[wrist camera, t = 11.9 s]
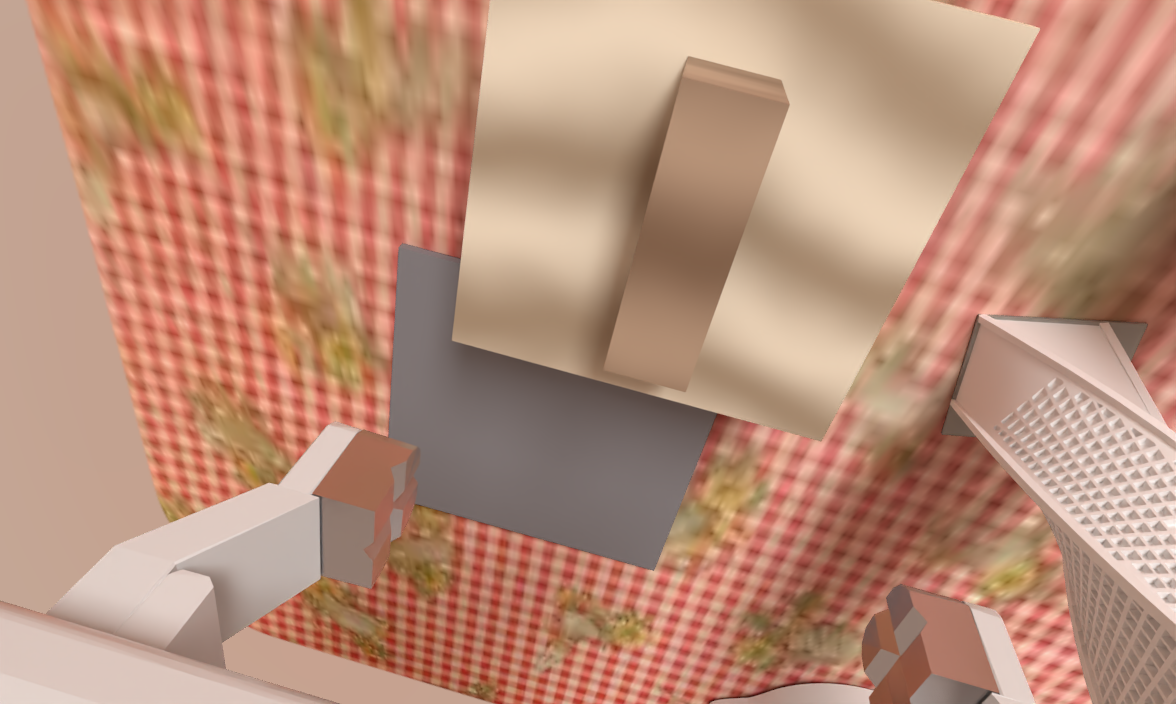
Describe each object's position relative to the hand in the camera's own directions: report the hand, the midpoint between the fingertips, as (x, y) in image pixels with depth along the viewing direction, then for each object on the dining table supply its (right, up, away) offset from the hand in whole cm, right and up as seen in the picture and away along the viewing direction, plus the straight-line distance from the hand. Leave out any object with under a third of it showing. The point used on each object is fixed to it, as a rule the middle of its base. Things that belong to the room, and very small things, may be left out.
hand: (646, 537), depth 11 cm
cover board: (+3, +9, +14) cm, 16 cm away
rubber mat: (-4, -1, +28) cm, 28 cm away
